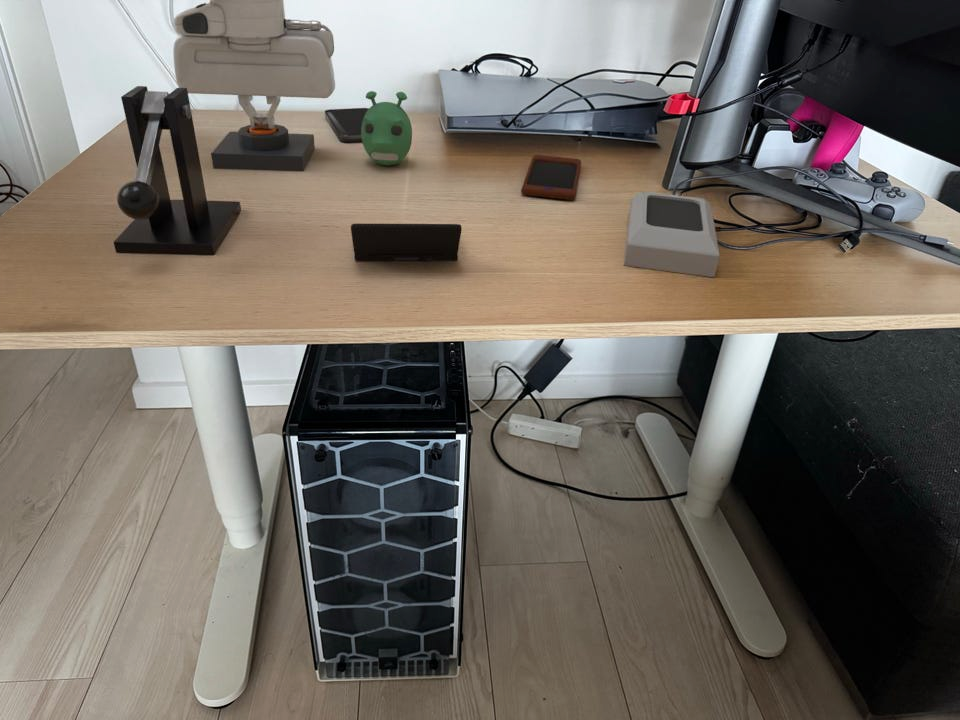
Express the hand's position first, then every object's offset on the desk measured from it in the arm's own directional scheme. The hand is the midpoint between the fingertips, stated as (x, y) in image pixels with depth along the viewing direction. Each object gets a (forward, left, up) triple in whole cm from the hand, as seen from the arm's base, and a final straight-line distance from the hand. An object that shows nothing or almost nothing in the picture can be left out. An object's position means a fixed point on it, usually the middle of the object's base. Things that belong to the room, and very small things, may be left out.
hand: (263, 128), depth 97 cm
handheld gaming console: (+21, -30, -4) cm, 37 cm away
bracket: (-4, -25, -4) cm, 26 cm away
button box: (0, 0, -4) cm, 4 cm away
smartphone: (+40, -5, -4) cm, 40 cm away
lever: (-4, -29, +4) cm, 29 cm away
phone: (+11, +16, -4) cm, 20 cm away
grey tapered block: (+51, -25, -4) cm, 57 cm away
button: (0, 0, -2) cm, 2 cm away
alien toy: (+17, -1, -4) cm, 18 cm away
